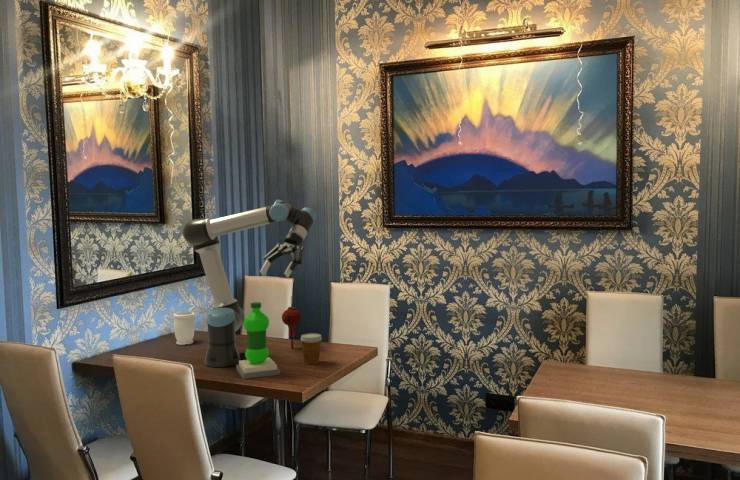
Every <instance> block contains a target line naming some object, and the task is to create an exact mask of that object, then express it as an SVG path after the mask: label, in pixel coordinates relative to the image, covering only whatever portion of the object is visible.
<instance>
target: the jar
mask: <svg viewBox="0 0 740 480" xmlns="http://www.w3.org/2000/svg"><path fill="white" fill-rule="evenodd" d="M195 315H196V314H195V312H193V311H179V312H175V313H173V315H172V316H173V317H174V318H173V331H174V337H175V339H176V343H175V344H177V345H181V346H186V344H187V345H191V344H193V343H194V340H193V339H194V336H195V330H196V321H195Z"/></svg>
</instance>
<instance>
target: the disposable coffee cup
mask: <svg viewBox="0 0 740 480" xmlns="http://www.w3.org/2000/svg"><path fill="white" fill-rule="evenodd" d="M322 339H323V337H322V335H321V334H319V333H304V334H301V336H300V339H299V340H300V341H301V348H302V354H303V360H304V364H306V365H317V364H319V362H320V355H321V354H320V353H321V345H322Z"/></svg>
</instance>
